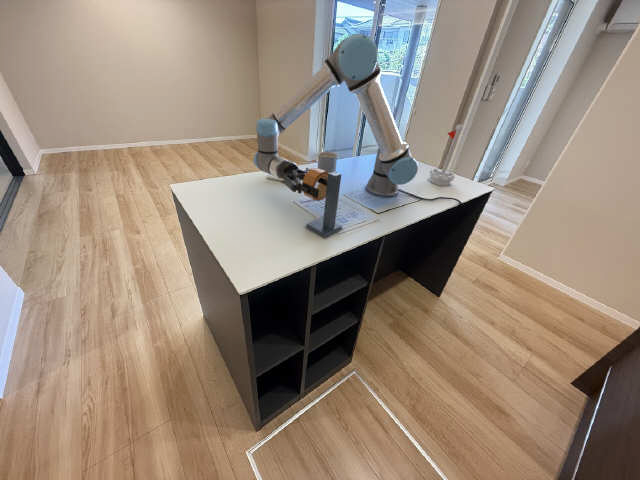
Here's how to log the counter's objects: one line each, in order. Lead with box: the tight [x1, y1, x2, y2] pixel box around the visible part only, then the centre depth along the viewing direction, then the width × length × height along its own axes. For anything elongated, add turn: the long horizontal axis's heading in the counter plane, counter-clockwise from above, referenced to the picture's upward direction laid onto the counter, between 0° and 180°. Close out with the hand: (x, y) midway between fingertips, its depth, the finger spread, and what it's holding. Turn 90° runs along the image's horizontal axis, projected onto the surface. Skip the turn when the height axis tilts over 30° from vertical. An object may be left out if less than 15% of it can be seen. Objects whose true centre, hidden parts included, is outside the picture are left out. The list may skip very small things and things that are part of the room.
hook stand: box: [306, 171, 343, 239], centre depth 86 cm, size 9×13×21 cm
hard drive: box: [267, 174, 280, 182], centre depth 126 cm, size 2×8×12 cm
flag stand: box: [428, 124, 463, 187], centre depth 133 cm, size 13×13×30 cm
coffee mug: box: [317, 151, 338, 173], centre depth 137 cm, size 13×10×10 cm
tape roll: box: [301, 167, 328, 202], centre depth 85 cm, size 10×5×10 cm, turn 137°
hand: (328, 189), depth 82 cm, fingers closed on tape roll, 10 cm apart
